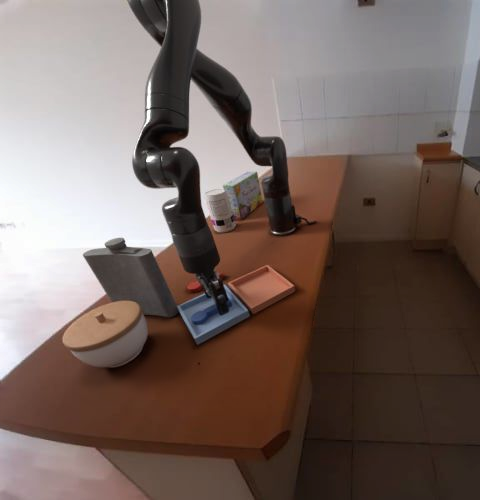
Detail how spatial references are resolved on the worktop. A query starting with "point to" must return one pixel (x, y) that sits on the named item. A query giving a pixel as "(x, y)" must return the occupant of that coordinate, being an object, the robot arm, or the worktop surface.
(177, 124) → the robot arm
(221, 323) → the blue tray
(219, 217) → the supplement can
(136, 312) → the lidded bowl
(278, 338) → the worktop surface
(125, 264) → the hip flask
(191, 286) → the red spoon
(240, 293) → the orange tray
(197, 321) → the blue spoon
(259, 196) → the snack box
